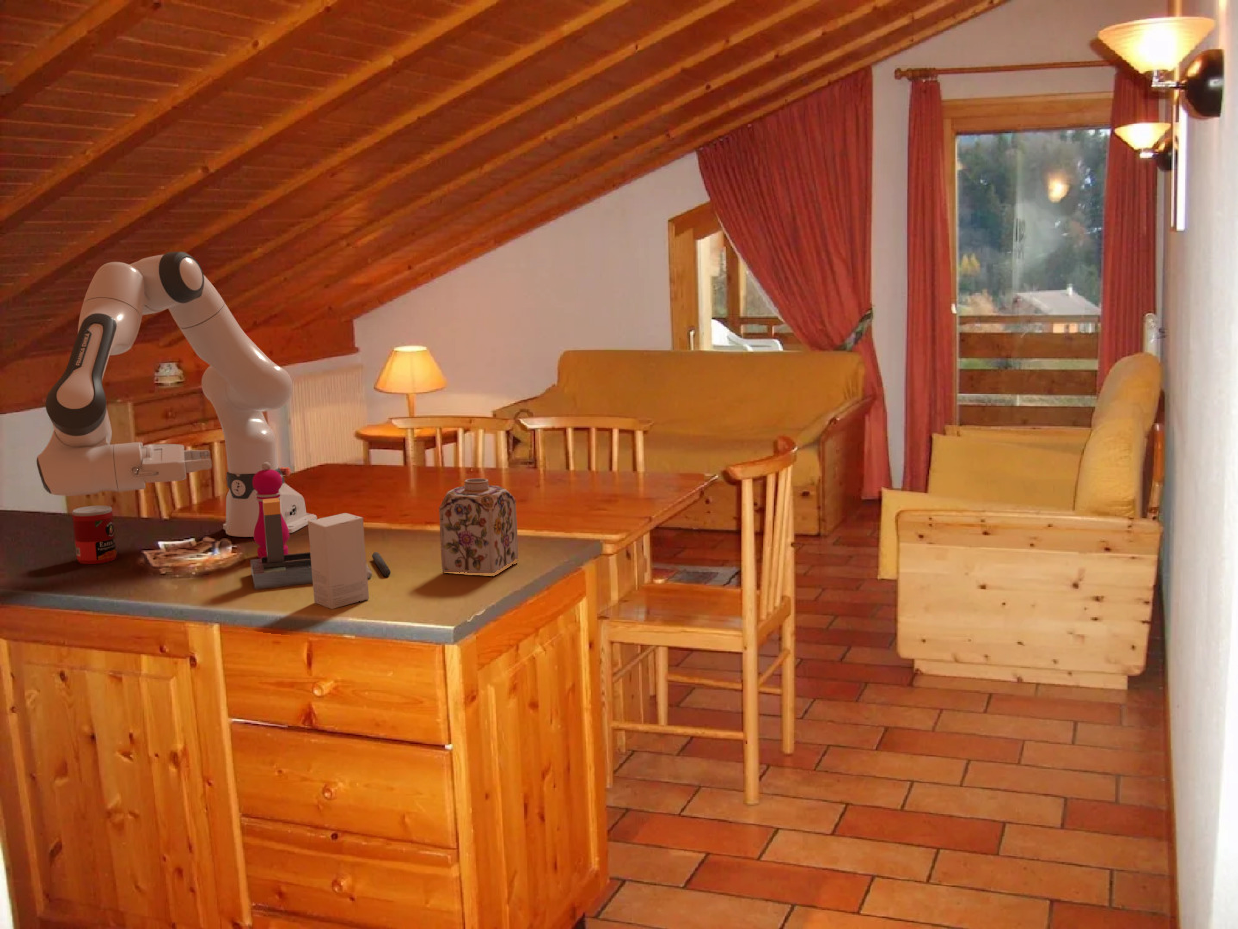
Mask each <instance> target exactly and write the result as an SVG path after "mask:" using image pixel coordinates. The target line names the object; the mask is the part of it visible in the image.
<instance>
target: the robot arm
mask: <svg viewBox="0 0 1238 929" xmlns="http://www.w3.org/2000/svg"><path fill="white" fill-rule="evenodd" d="M167 309H168V311H169V313H170V315H171V317H172V318H173V320H174V322H175V323H176V325H177V327H178V328H179V330H180V331H181V333H182V335H183V336H184V337H185V339H186V340H187V342H188V344H189V345H190V347H191V349H193V351H194V352H195V354H196V356H198V358H199V359H201V360H202V361H204V362H205V363H206V364H208V365H209V366H208V367H207V368H206V369H205V371H204V373H203V374H202V376H201V390H202V393H203V395H204V396H205V397H206V399H207V400H208V401H209V402H210V403H211V405H212V407H213V408H214V411H215V413H216V416H217V420H218V421H219V423H220V427H221V429H222V433H223V434H222V435H223V437H224V441H225V442H224V443H225V453H226V460H227V461H226V462H227V471H226V478H225V479H226V486H227V489H228V492H227V494H226V497H225V499H226V500H225V523H223V524H222V527H223V530H224V531H225V534H226V535H228V536H232V537H240V538H241V537H243V538H248V537H251V538H252V537H253V538H254V529H255V526H256V523H257V520H258V516H259V502H258V501H257V500H256V498H257V496H256V494H257V493H258V492H257V491H256V490H255V489H254V487H253V483H252V481H253V477H254V475H255V474H256V473H257V472H259V471H261V470H263V469H262V464H263V463H264V462H268V463H269V464H270V466H271V467H270V469H271V470H275V471H277V472H278V473H279V474H280V475H281V478H282V486H281V488H280V489H279V492H281V494H280V496H281V498H280V499H279V501H280V510H281V514H282V517H283V519H284V521H285V522H286V524H287V527H288V530H289V534H293V533H294V532H296V531H298V530H300V529H302V528H304V527H306V526H308V521H310V520H316V519H318V517H317V515H316V514H314V513H309V512H307V509H306V503H305V498H304V497H303V495H302V494H300V493H299V492H298V491H296V490H295V489H294V488H292V487H290V485H288V484H287V483H286V482H285V481H286V480H285V478H284V476H285V477H289V476H290V475H291V471H292V470H291V468H290V467H289V466H288V467H283V466H281V467H279V459H278V446H277V437H276V433H275V431H274V430H273V429H272V428H271V427H270V425H269V424H268V422H267V420H266V418H265V416H264V413H263V412H268V411H274V410H278V409H281V408H284V407H285V406H286V405H287V403H288V402H289V401H290V399H291V397H292V396H293V390H294V386H293V380H292V378H291V376H290V373H289V372H287V370H286V369H284V368H283V367H281V366H279V365H278V364H277V363H275V362H273V360H271V359H270V358H269V357H268V356H267V355H266V354H265V352H263V351H262V350H261V349H260V348H259V347H258V345H256V343H255V342H254V341H252V339H251V338H250V337H249V336H248V335H247V334H246V333H245V332H244V330H243V329H242V327H241V326H240V324H239V323H238V321H237V320H236V318H235V316H234V315H233V313H232V311H230V309H229V307H228V306H227V304H226V302H225V300H224V299H223V297H222V296H221V295H220V292H218V290H217V289H216V287H214V285H213V284H212V282H211V281H210V280H209V279H208V278H207V276H206V275H205V274H204V272H203V269H202V267H201V265H200V263H199V262H198V261H197V259H195V258H194V257H193V256H192V255H190V254H188V253H187V252H184V251H169V252H166V253H164V254H158V255H154V256H148V257H144V258H141V259H140V260H138V261H135V262H132V263H130V264H129V263H125V262H122V261H111V262H107V263H104V264H103V265H101V266H100V267H99V268H98V269H97V270H96V272H95V273H94V276H93V277H92V280H91V281H90V283H89V286H88V288H87V290H86V292H85V296H84V298H83V303H82V305H81V309H80V314H79V321H78V325H77V335H76V339H75V341H74V345H73V347H72V351H71V354H70V356H69V359H68V363H67V365H66V368H65V370H64V372H63V374H61V376H60V378H58V380H57V381H56V382H55V384H54V385H52V387H51V389H50V390H49V391H48V394H47V395H46V399H45V410H46V413H47V415H48V416H49V420H50V421H51V423H52V426H53V431H52V434H51V437H50V438H49V439H50V440H49V441H48V443H47V444H46V447H45V448H44V450H43V451H41V453H39V454H38V455H37V457H36V467H37V471H38V474H39V477H40V480H41V483H42V487H43V489H44V490H45V491H46V492H47V493H49V495H54V496H64V497H66V496H67V497H70V496H87V495H95V494H98V493H100V492H107V491H108V492H109V491H110V492H114V493H116V492H127V491H129V492H130V491H136V490H137V491H138V490H145V489H146V483H165V482H166V483H167V482H179V481H183V480H185V479H187V474H188V473H189V474H190V473H195V472H199V471H202V470H210V469H213V468H212V467H213V463H212V459H211V451H210V450H208V449H205V450H203V449H201V450H199V449H196V450H194V449H186V450H185V445H183V444H180V443H179V444H178V443H177V444H176V443H160V444H155V443H153V444H143V442H141V441H138V442H137V441H136V442H135V441H134V442H127V443H126V442H125V443H124V442H123V443H115V444H114V443H113V444H111V441H112V435H113V430H112V424H111V421H110V420H111V419H110V416H109V411H108V408H107V407H108V406H107V405H108V404H107V398H106V393H105V390H104V386H103V379H104V376H105V372H106V369H107V366H108V362H109V358H110V356H116V355H117V356H118V355H121V354H124V353H126V352H128V351H129V350H131V349H132V347H133V345H134V343H135V342H136V340H137V337H138V334H139V331H140V327H141V323H142V318H143V316H145V315H151V314H157V313H161V312H163V311H165V310H167Z"/></svg>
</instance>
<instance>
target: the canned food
mask: <svg viewBox="0 0 1238 929" xmlns="http://www.w3.org/2000/svg"><path fill="white" fill-rule="evenodd" d="M71 512H72V513H71V515H72V525H73V534H74V542H75V551H76V560H77V561H78V563H79V564H82V565H99V564H105V562H106V563H109V561H110V562H112V561H114V560H115V559H116V558H117V545H116V536H115V524H114V515H113V508H112V507H111V506H109V505H90V506H88V505H87V506H83V507H82V506H81V507H78V508H75V509H73V510H71Z"/></svg>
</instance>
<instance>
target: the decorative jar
mask: <svg viewBox="0 0 1238 929" xmlns="http://www.w3.org/2000/svg"><path fill="white" fill-rule="evenodd" d="M516 502H517V500H516V499H515V497H514V495H513V494H511V492H510V491H509V490H507V489H506V488H505V487H502V486H499V485H489V479H487V478H482V477H481V478H480V477H479V478H467V479H465V480H464V485H463V486H458V487H454V488H453V489H451V490H448V491H447V492H446V493H445V496H444V498H443V499H442V502H441V504H440V505H439V507H438V513H439V516H438V517H439V537H440V541H439V542H440V555H441V556H440V557H441V560H440V561H441V569H442V570H441V572H442V573H443V572H459V573H460V572H464V573H465V572H467V573H495V572H496V571H497V570H500V569H501V568H503V567H504V566H506V565H507V564H510V563H511V562H513V561H514V560H515V559H518V560H519V546H518V545H519V540H518V519H517V518H518V517H517V503H516Z"/></svg>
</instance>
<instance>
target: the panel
mask: <svg viewBox="0 0 1238 929" xmlns="http://www.w3.org/2000/svg"><path fill="white" fill-rule="evenodd" d="M250 571H251V579H252V583H253V587H254V590H261V589H263V590H265V589H272V588H280V587H281V588H282V587H290V586H297V585H298V586H300V585H307V584H313V579H312V567H311V555H310V551H307V552H306V551H305V552H297V553H288V554H286V555H284V561H283V562H273V563H268V562H267V556H266V557H261V558H256V559H254V558H253V559H250Z"/></svg>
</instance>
